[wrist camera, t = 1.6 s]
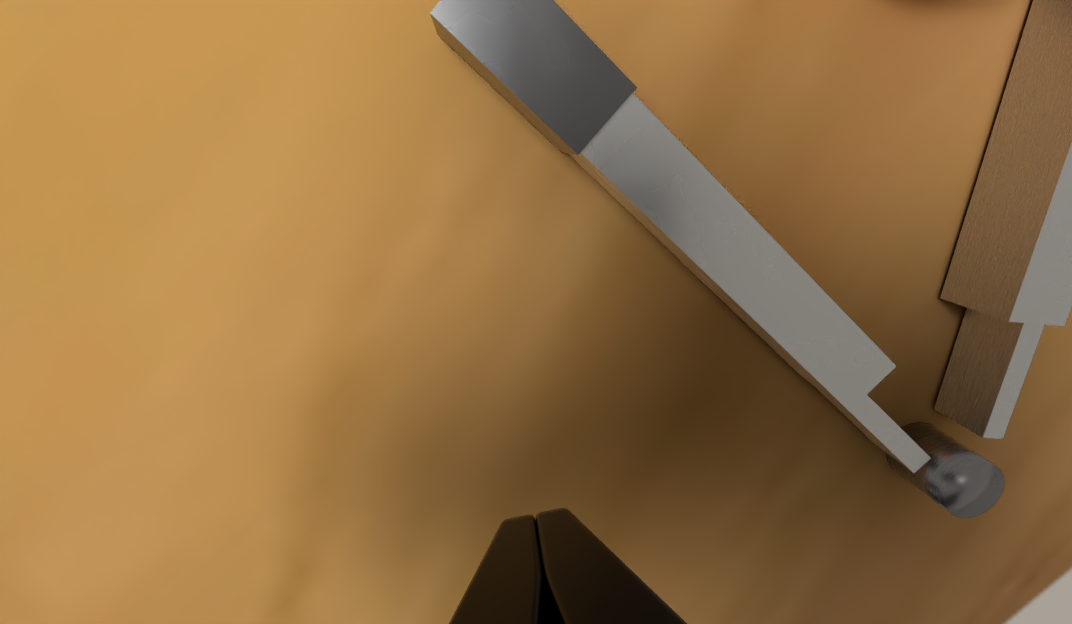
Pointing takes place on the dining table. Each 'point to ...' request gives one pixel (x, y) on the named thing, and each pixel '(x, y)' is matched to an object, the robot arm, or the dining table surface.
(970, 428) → the tong base
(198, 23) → the dining table surface
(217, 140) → the dining table surface
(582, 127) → the tong leg
